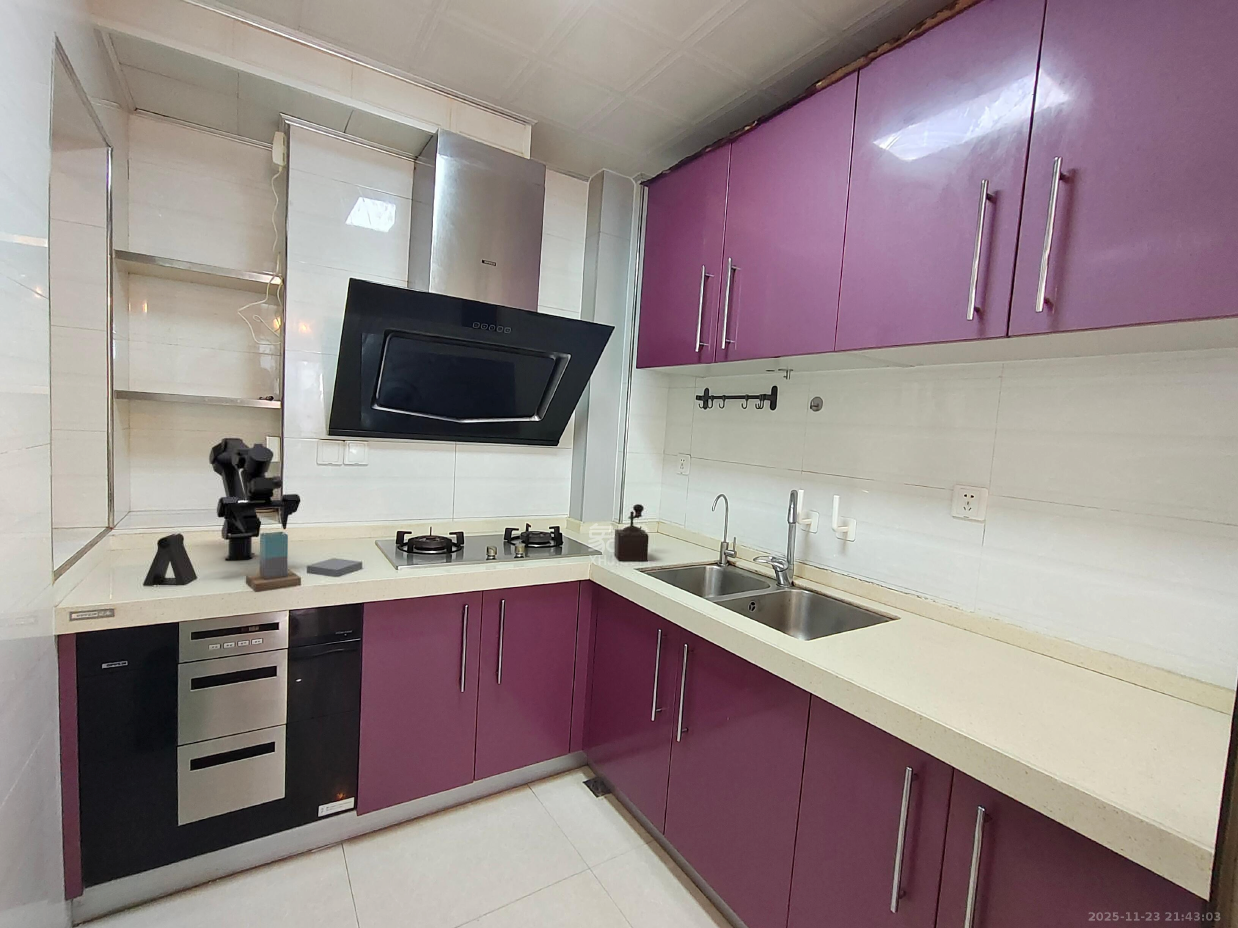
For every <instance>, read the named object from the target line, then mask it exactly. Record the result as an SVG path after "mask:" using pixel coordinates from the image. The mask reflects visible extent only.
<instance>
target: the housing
mask: <svg viewBox="0 0 1238 928" xmlns="http://www.w3.org/2000/svg"><path fill="white" fill-rule="evenodd" d="M288 537H289V535H288V534H287V533H286V532H284V531H277V532H267V531H263V532H261V533H259V573H260V576H261V577H262V578H263V579H264V580H269V579H276V578H283V577H287V570H288V560H289V559H288V557H289V555H288V552H289V550H288V548H289V538H288Z"/></svg>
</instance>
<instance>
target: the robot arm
mask: <svg viewBox="0 0 1238 928" xmlns="http://www.w3.org/2000/svg"><path fill="white" fill-rule="evenodd" d="M209 452H210V453H209V457H208V460H209V464H210V465H211V467H212V470H213V471H214V472H215V473H216V474H218V475H219V476H221V479H222V484H223V489H224V493H225V496H221V497H220V498H219V499H218V503H217V506H216V515H217V517H218V518H224V520H223V521H224V522H223V524H222V528H221V530H220V531H221V539H223V540H224V541H228V555H227V556H226V557H225V558H224V560H225V561H235V560H236V561H237V560H252V559H253V557H254V556H255V552H253V551H252V549H253V546H252V545H253V544H252V540H253V539H252V538H260V534H261V533H260V531H261V526H262V521H261V520H260V517H258V514H257V512H256V510H259V509H277V508H278V509H279V510H280V511H279V512H280V514H279V516H280V520H281V525H282V529H283V530H286V529H287V525H288V519H289V516H291V515H293V514H294V513H296V512H298V508H299V507H300V504H301V501H302V500H301V497H300V495H299V494H298V493H286V494H282V497H281V499H275V500H273V499H272V498H273V497H274V490H277V489H279V490H280V489H281V488H282V486H283V482H282V478H281V476H280V475H277V476H276V475H275V476H274V475H273V476H272V477H270V476H269V477H266V473H268V472H269V471H270V470H269V469H270V467H271V463H272V461H273V458H274V452H273V451H272V450H271V449H270V448H268V447H267V446H264V445H263V443H254V444H253V446H252V447H249V446H248V445H247V444H246V443H245V442H243V439H242V438H239V437H224V438H222V439H221V440H220V442H219V443H218V444H216V445H214V446H212V448H211V449H210V451H209ZM239 472H240V473H239Z"/></svg>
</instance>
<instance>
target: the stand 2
mask: <svg viewBox="0 0 1238 928" xmlns="http://www.w3.org/2000/svg"><path fill="white" fill-rule="evenodd" d="M361 569H363V561H359V560H353V559H352V560H351V559H343V558H335V557H332V558H329V559H326V560H322V561H319V562H315V563H312V564H308V565H306V574H313V575H319V576H320V575H321V576H327V577H334V578H335V577H336V578H337V577H341V576H345V575H347V574H350V573H353V572H356V571H359V570H361Z"/></svg>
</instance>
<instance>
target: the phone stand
mask: <svg viewBox="0 0 1238 928" xmlns="http://www.w3.org/2000/svg"><path fill="white" fill-rule="evenodd" d="M184 541H185V538H184V535H183V534H182V533H180V532H179V533H173V534H168V535H167V536H163V537H161V538H159V539H158V540H157V542H156V543H157V544H156V545H157V551H156V553H155V555H154V557H153V560H152V562H151V564H150V567H149V569H148V572H147V574H146V577H145V579H144V580H143V583H142V585H143V587H150V586H151V587H156V586H157V585H164V586H165V585H175V586H186V585H187V584H189V583H191V582H193V581H195V580H196V579H197V578H198V575H197V573H196V571H195V569H194V567H193V564H192V561H191V560H190V557H189V554H188V552H187V550H186V548H185V545H184ZM169 565H170V566H171V569H172V572H173V576H174V577H166V575H167V572H168V569H169ZM154 585H156V586H154ZM157 587H158V586H157Z"/></svg>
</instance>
